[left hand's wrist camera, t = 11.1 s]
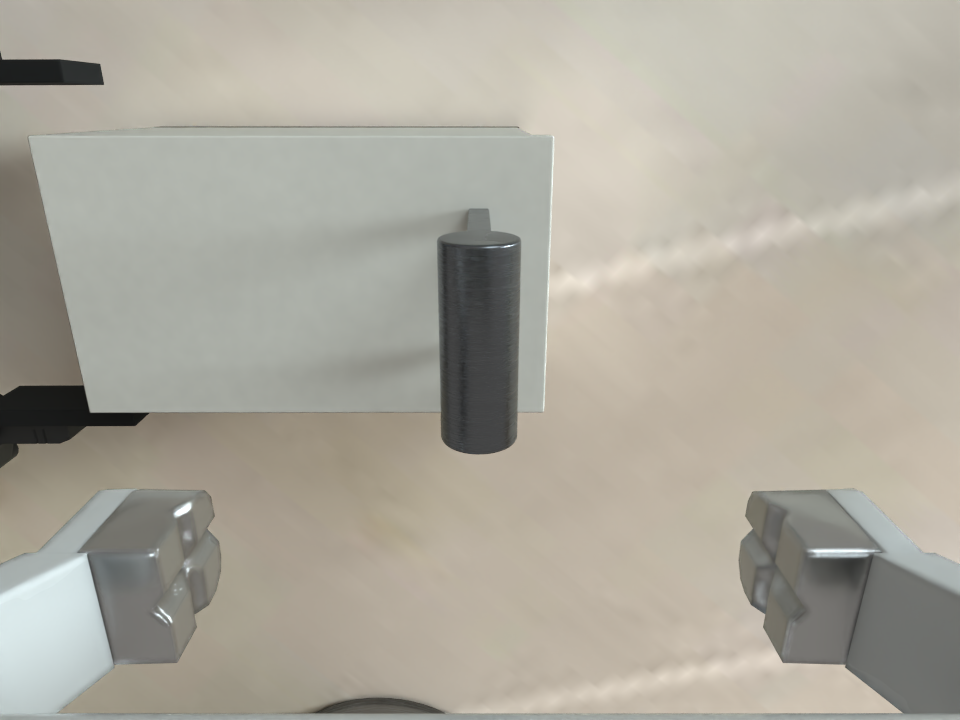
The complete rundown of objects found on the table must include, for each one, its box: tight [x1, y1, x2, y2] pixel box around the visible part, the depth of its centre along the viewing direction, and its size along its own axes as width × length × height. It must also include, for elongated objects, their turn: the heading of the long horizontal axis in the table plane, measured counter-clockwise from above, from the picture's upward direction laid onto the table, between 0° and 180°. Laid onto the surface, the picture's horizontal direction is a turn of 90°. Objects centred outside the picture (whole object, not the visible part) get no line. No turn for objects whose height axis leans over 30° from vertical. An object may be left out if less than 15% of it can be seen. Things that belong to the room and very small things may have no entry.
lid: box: [28, 135, 554, 454], centre depth 21 cm, size 18×10×8 cm, turn 90°
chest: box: [47, 127, 531, 135], centre depth 29 cm, size 17×10×9 cm, turn 90°
